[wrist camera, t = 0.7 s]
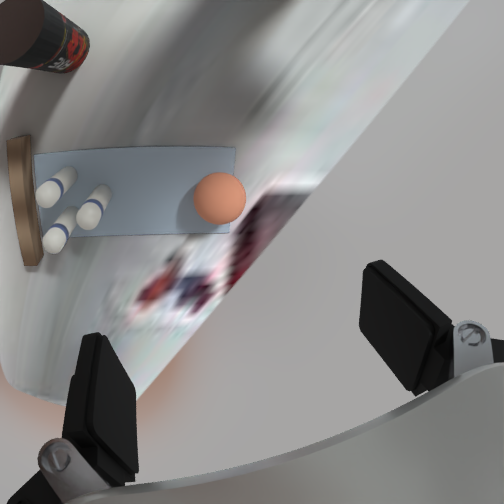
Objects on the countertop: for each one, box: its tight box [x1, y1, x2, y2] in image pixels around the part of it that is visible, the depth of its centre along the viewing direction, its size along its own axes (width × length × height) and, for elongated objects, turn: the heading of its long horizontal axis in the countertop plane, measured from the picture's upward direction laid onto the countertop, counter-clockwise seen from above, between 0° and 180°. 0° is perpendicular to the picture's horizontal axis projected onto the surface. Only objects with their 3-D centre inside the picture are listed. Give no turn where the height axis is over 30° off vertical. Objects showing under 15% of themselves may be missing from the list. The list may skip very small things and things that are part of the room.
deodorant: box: [0, 0, 90, 73], centre depth 20 cm, size 6×6×15 cm
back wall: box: [7, 135, 44, 266], centre depth 31 cm, size 16×2×3 cm, turn 175°
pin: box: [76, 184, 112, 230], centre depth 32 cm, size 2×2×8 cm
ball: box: [193, 172, 246, 225], centre depth 36 cm, size 6×6×6 cm
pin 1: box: [35, 166, 78, 208], centre depth 30 cm, size 2×2×8 cm
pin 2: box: [42, 206, 79, 254], centre depth 32 cm, size 2×2×8 cm
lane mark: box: [34, 146, 236, 237], centre depth 36 cm, size 11×25×1 cm, turn 85°
